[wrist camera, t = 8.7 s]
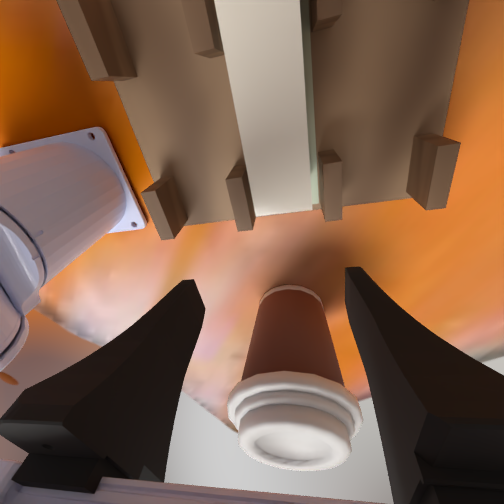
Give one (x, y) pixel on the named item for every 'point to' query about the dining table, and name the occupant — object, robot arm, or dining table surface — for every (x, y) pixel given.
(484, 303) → the dining table surface
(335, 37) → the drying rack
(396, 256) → the dining table surface
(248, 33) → the cream rectangular block
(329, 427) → the coffee cup
